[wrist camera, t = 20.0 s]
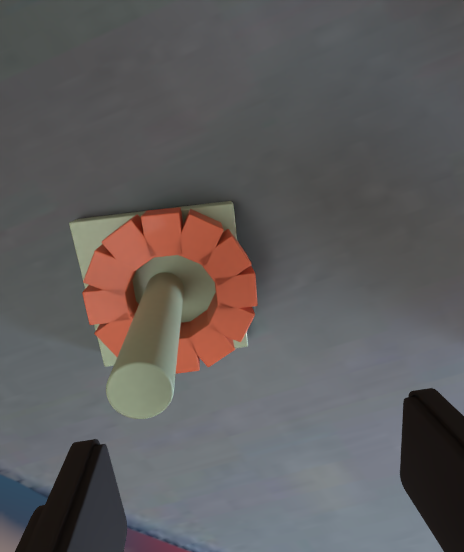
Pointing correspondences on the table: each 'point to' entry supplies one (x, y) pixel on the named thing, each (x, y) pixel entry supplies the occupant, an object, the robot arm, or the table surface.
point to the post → (152, 313)
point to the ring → (167, 242)
